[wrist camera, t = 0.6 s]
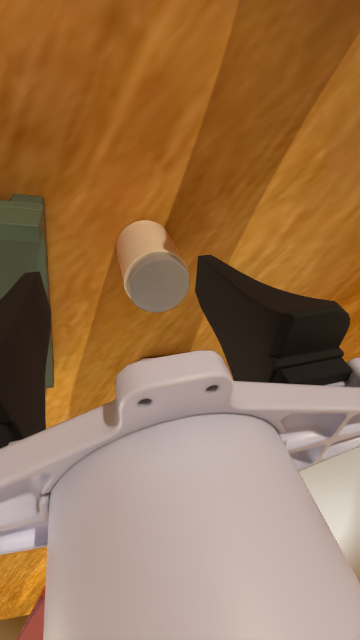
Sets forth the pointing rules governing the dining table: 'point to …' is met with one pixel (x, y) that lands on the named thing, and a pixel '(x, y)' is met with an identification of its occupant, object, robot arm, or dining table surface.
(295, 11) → the dining table surface
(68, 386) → the dining table surface
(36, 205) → the shelf
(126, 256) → the salt shaker
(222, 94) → the dining table surface
